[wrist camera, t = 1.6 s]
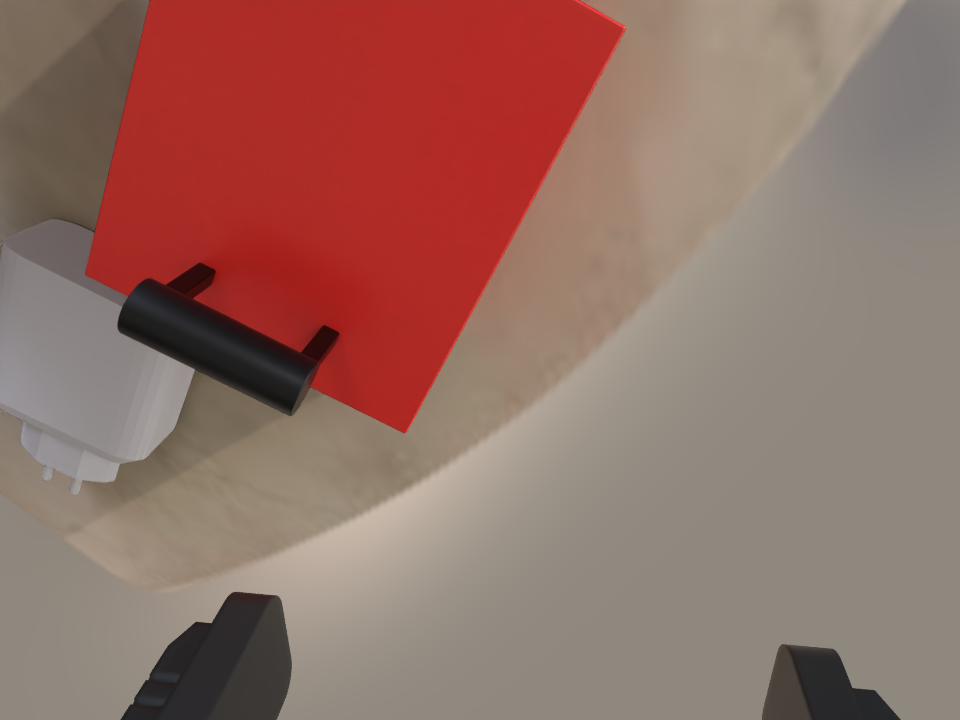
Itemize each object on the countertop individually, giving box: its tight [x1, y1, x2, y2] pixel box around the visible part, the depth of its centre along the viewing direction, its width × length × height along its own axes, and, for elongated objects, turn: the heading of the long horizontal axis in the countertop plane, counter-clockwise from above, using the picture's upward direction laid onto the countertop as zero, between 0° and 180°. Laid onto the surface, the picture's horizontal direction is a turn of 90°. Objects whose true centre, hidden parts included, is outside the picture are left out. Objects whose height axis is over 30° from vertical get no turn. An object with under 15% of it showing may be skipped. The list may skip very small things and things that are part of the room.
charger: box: [0, 219, 195, 494], centre depth 39 cm, size 5×9×15 cm
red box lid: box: [85, 0, 626, 433], centre depth 22 cm, size 16×14×6 cm
